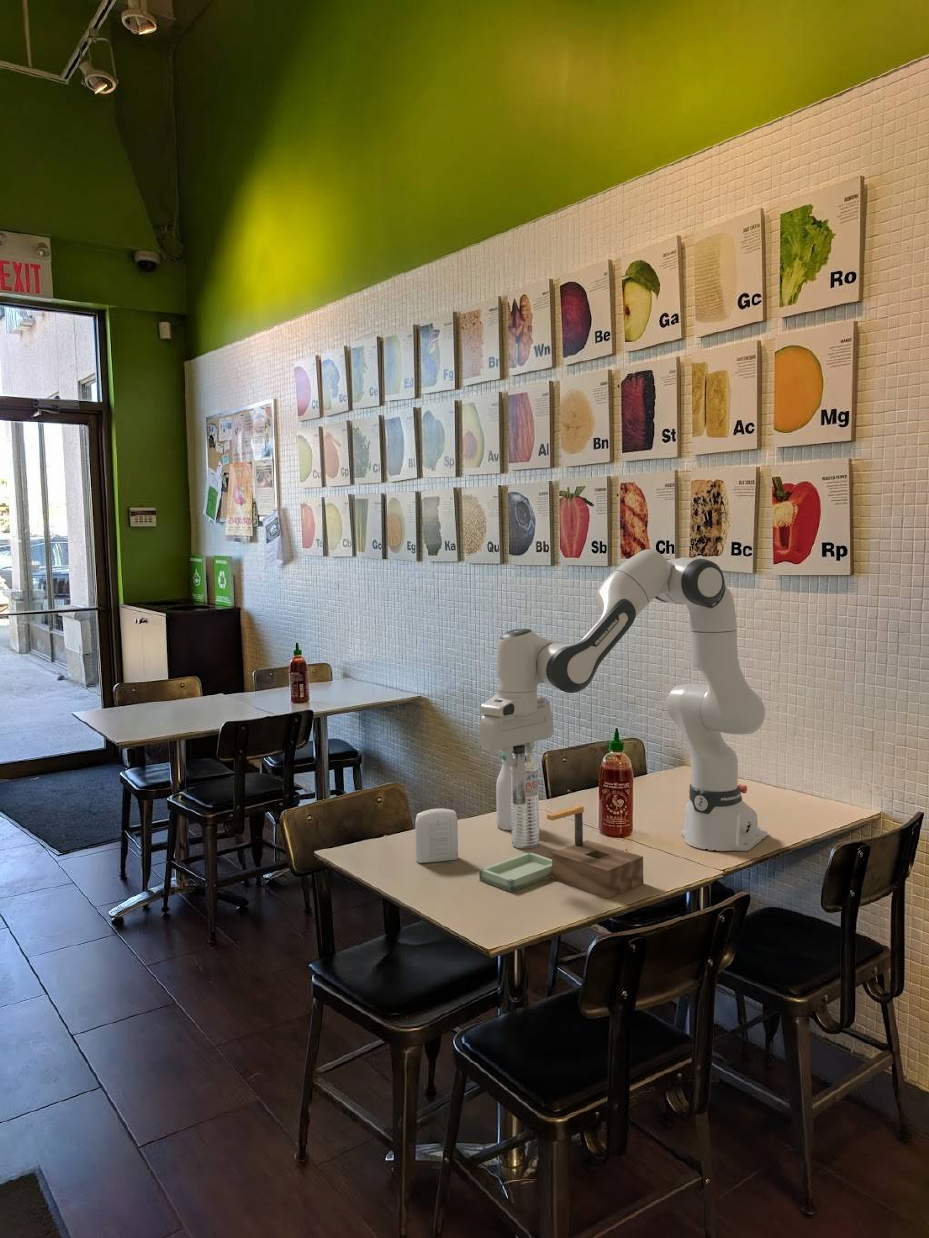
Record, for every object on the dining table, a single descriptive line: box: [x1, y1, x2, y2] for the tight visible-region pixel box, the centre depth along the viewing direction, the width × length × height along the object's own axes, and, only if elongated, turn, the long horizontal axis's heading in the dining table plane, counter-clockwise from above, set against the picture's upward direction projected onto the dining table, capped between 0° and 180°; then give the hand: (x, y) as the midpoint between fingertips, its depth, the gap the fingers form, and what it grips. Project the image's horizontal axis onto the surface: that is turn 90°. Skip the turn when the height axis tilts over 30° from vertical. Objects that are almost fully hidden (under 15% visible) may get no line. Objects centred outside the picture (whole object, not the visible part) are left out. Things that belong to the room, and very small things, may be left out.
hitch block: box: [551, 813, 644, 899], centre depth 202 cm, size 12×16×14 cm
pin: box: [512, 744, 526, 805], centre depth 204 cm, size 3×3×13 cm
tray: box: [478, 851, 552, 893], centre depth 206 cm, size 16×10×2 cm, turn 132°
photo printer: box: [414, 808, 459, 864], centre depth 218 cm, size 10×4×12 cm, turn 104°
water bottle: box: [510, 753, 540, 850], centre depth 226 cm, size 7×7×25 cm
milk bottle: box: [495, 751, 512, 832], centre depth 241 cm, size 8×8×20 cm
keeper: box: [546, 805, 585, 821], centre depth 205 cm, size 10×2×1 cm, turn 128°
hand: (518, 763), depth 204 cm, fingers closed on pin, 3 cm apart
